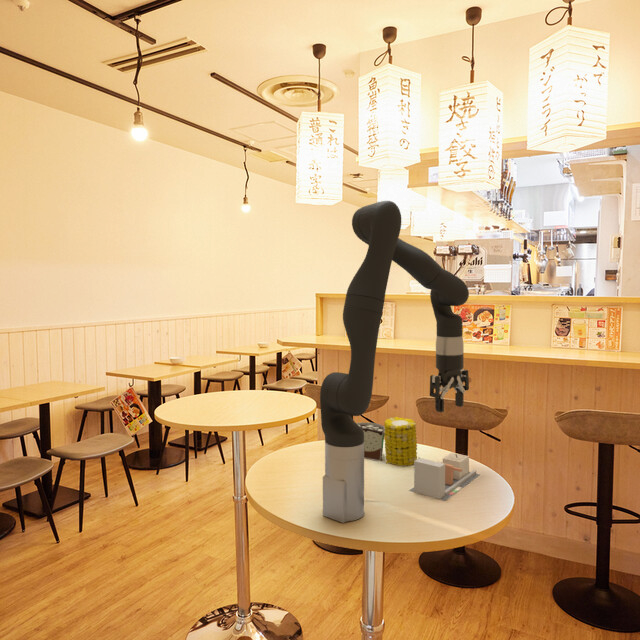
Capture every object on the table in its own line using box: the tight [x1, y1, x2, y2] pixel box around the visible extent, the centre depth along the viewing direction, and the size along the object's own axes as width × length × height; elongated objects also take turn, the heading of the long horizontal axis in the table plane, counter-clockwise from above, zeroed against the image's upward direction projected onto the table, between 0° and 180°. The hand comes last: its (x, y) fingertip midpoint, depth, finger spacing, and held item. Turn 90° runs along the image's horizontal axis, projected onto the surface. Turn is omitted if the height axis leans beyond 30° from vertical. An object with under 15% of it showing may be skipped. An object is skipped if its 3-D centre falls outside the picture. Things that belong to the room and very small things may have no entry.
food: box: [383, 416, 418, 467], centre depth 147 cm, size 15×12×10 cm
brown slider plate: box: [439, 461, 462, 485], centre depth 129 cm, size 1×7×5 cm, turn 50°
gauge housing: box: [442, 452, 470, 480], centre depth 134 cm, size 9×5×5 cm, turn 140°
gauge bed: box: [408, 457, 481, 502], centre depth 130 cm, size 22×10×10 cm, turn 140°
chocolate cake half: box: [355, 422, 385, 462], centre depth 156 cm, size 12×6×10 cm, turn 58°
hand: (449, 408), depth 138 cm, fingers open, 8 cm apart
